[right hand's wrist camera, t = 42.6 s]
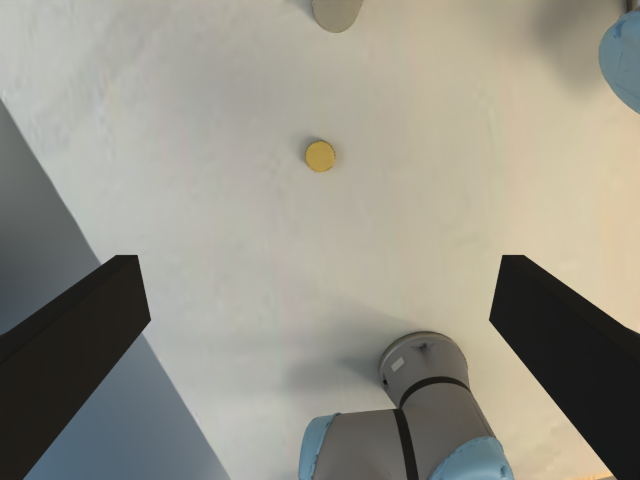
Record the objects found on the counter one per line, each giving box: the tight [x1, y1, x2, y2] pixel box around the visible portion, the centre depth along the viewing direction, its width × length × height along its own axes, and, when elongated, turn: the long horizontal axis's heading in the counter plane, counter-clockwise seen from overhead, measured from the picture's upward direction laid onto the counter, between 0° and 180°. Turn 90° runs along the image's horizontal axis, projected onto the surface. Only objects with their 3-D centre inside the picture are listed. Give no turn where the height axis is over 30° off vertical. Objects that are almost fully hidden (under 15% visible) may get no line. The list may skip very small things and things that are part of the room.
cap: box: [305, 141, 335, 172], centre depth 48 cm, size 4×4×2 cm
